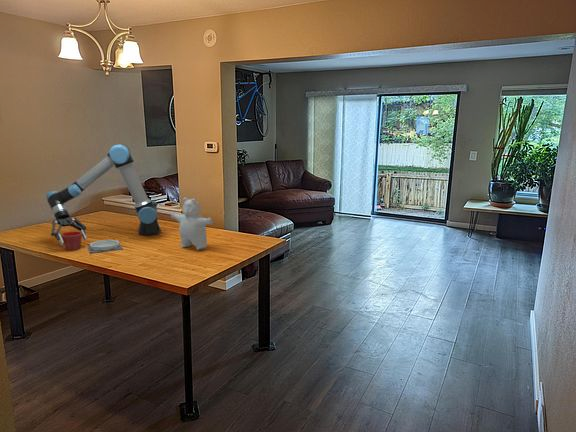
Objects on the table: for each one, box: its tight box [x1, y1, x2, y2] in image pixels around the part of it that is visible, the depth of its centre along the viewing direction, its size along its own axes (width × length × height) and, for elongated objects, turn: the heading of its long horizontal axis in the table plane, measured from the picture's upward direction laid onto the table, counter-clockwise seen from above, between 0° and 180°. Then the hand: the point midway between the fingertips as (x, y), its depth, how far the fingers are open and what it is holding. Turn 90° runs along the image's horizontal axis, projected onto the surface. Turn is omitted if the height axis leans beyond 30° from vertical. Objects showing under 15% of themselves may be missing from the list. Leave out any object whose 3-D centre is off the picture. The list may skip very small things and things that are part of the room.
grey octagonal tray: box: [87, 239, 124, 254], centre depth 245 cm, size 18×18×3 cm
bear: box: [170, 197, 214, 251], centre depth 245 cm, size 35×14×32 cm, turn 60°
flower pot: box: [61, 231, 83, 252], centre depth 241 cm, size 11×11×10 cm
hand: (74, 241), depth 240 cm, fingers open, 12 cm apart
